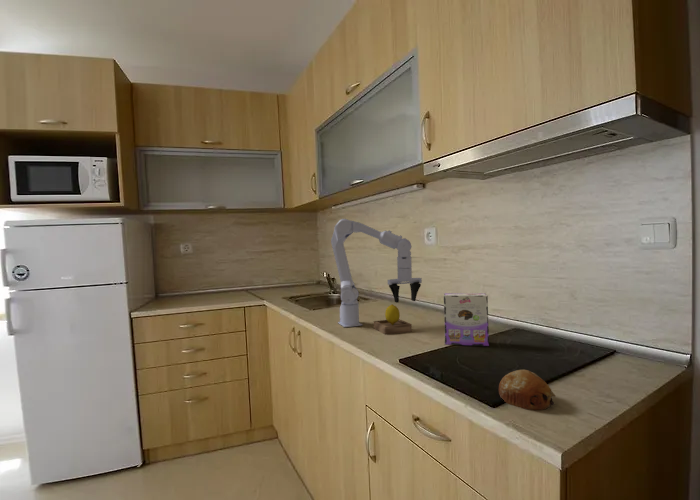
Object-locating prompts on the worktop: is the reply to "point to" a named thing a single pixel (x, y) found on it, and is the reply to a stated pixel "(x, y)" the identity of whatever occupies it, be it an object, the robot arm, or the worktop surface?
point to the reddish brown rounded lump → (525, 390)
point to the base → (392, 327)
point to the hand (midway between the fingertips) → (405, 301)
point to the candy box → (466, 319)
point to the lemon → (392, 314)
